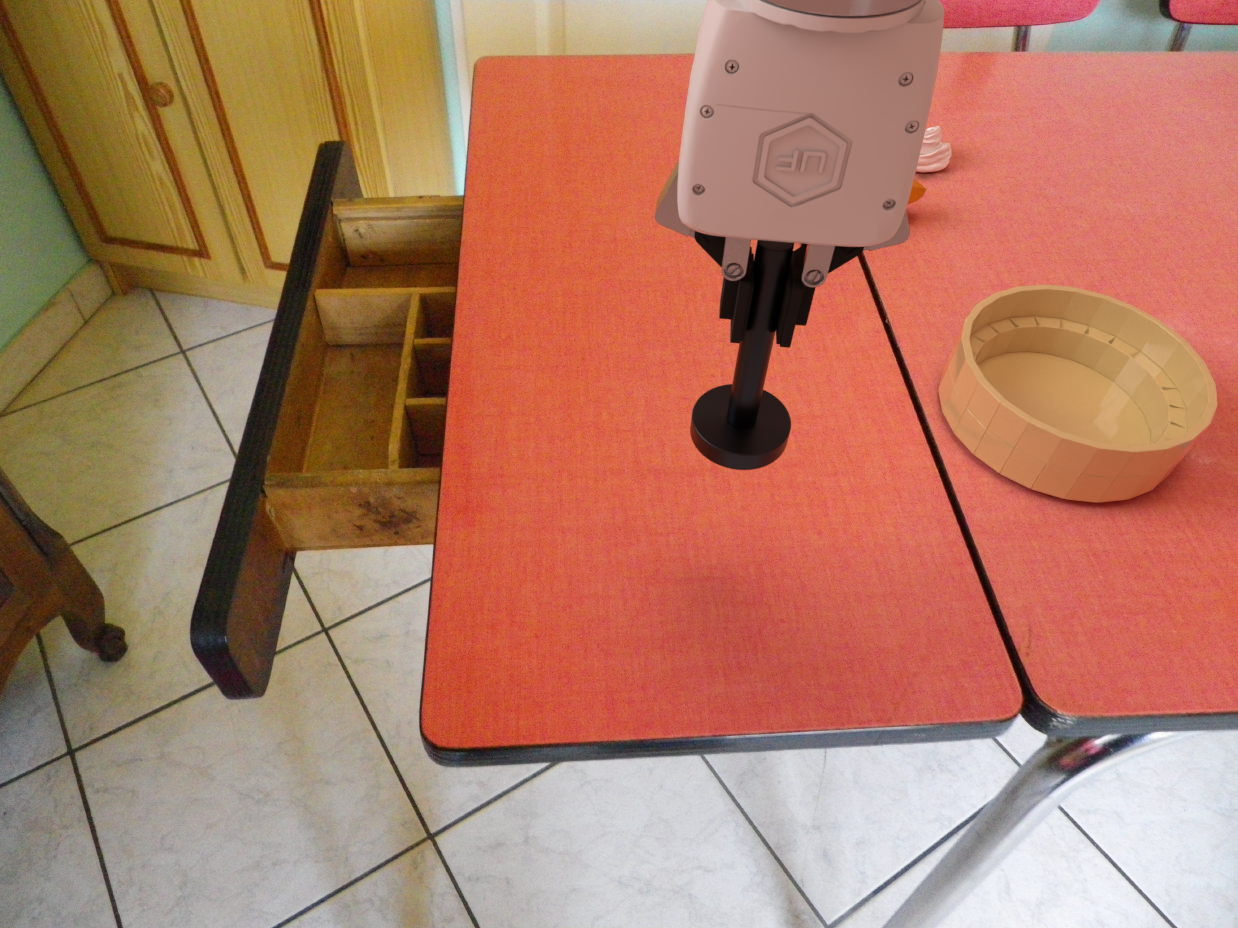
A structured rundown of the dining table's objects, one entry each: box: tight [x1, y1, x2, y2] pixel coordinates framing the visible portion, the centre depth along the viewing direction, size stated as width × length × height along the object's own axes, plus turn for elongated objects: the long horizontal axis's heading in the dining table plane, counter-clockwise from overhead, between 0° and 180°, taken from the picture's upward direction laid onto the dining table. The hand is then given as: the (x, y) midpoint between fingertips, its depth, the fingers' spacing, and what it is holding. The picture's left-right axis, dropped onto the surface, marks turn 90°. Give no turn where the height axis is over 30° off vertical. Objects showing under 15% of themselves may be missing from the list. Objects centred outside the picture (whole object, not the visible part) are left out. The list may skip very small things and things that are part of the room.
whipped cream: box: [916, 125, 953, 173], centre depth 104 cm, size 8×7×5 cm
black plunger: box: [689, 240, 795, 471], centre depth 47 cm, size 6×6×14 cm
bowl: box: [938, 284, 1219, 504], centre depth 74 cm, size 20×20×7 cm
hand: (759, 326), depth 46 cm, fingers closed on black plunger
